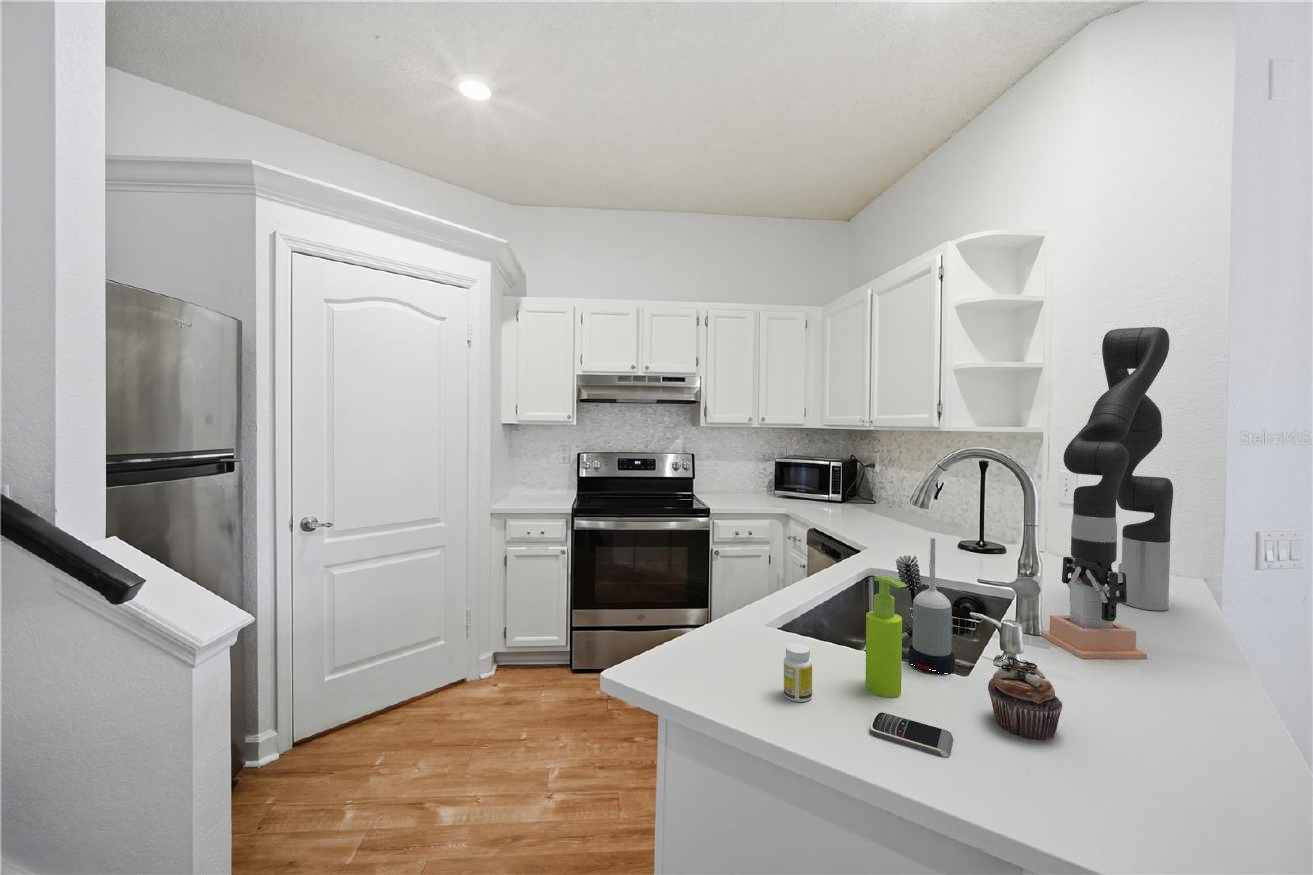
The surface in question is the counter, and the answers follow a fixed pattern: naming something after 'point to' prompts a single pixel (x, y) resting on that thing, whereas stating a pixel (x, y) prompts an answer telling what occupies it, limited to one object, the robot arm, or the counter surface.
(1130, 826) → the counter surface
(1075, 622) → the skincare box
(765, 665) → the counter surface
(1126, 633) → the tan open box
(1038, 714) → the cupcake
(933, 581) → the grey toilet brush
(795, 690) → the supplement bottle
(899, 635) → the soap dispenser
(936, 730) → the cell phone
